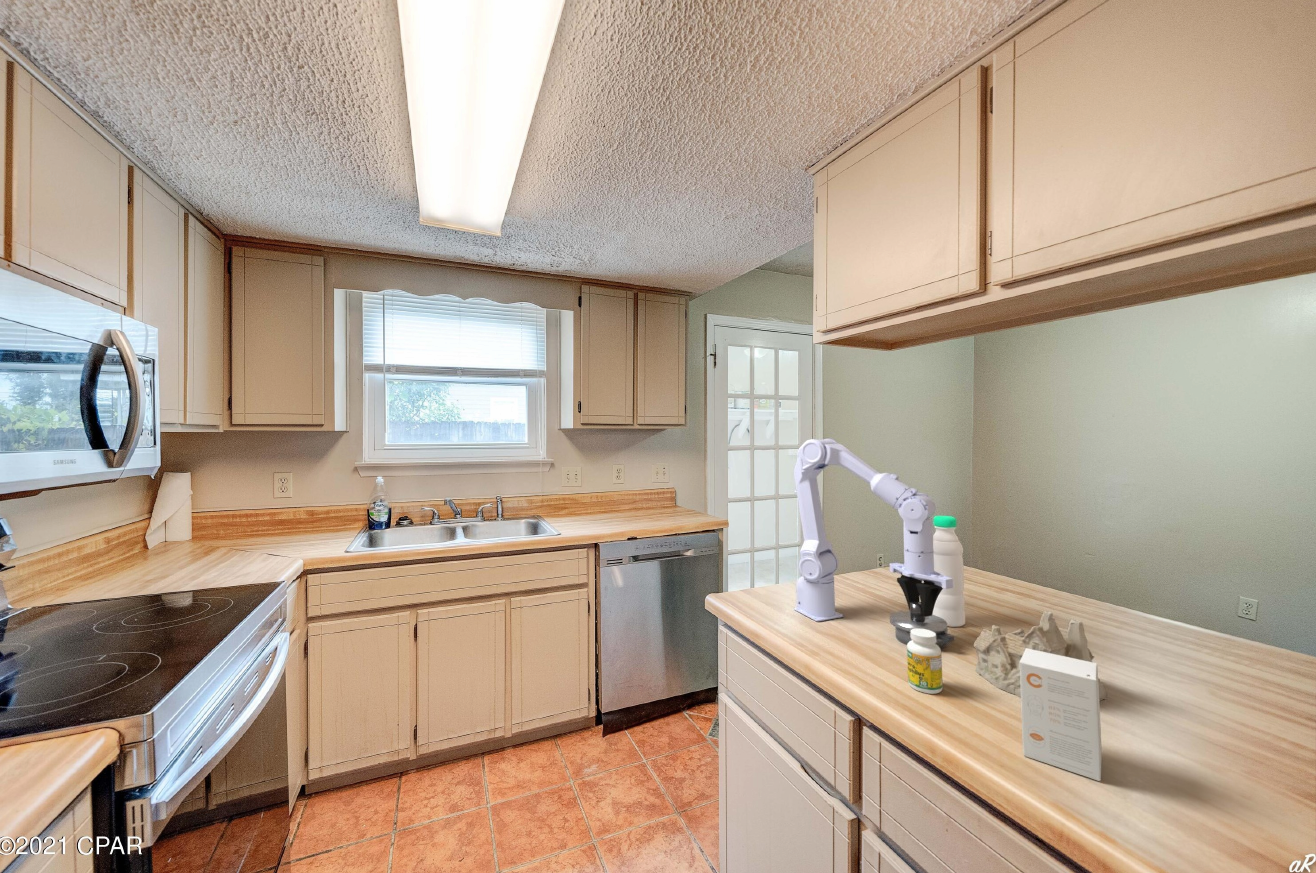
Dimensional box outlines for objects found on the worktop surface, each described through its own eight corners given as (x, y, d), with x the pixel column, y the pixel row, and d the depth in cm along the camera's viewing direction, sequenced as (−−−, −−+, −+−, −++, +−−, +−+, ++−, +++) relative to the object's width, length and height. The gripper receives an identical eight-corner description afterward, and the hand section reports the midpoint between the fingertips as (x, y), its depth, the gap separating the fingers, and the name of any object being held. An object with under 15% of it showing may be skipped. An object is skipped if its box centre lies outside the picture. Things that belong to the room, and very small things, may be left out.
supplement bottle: (950, 691, 84) (948, 636, 84) (925, 697, 82) (923, 640, 83) (924, 677, 89) (922, 625, 89) (901, 682, 88) (899, 629, 88)
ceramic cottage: (1125, 700, 80) (1113, 607, 81) (1040, 716, 77) (1028, 619, 78) (1037, 663, 95) (1028, 586, 96) (963, 675, 92) (954, 595, 93)
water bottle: (972, 627, 111) (968, 518, 111) (941, 628, 111) (937, 519, 112) (954, 616, 118) (951, 514, 119) (924, 617, 118) (921, 514, 119)
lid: (878, 618, 109) (878, 598, 109) (918, 612, 112) (917, 592, 112) (917, 637, 98) (916, 614, 98) (960, 630, 101) (959, 608, 101)
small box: (1102, 758, 66) (1098, 662, 66) (1101, 783, 61) (1098, 680, 61) (1027, 735, 72) (1024, 646, 72) (1021, 756, 67) (1018, 661, 67)
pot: (877, 631, 110) (877, 616, 110) (911, 624, 114) (910, 609, 114) (932, 657, 97) (932, 640, 97) (968, 649, 100) (968, 632, 100)
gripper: (878, 545, 111) (880, 605, 111) (934, 559, 97) (936, 627, 97) (902, 542, 113) (904, 600, 113) (959, 555, 100) (961, 622, 100)
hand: (920, 613), depth 105 cm, fingers closed on lid, 3 cm apart
